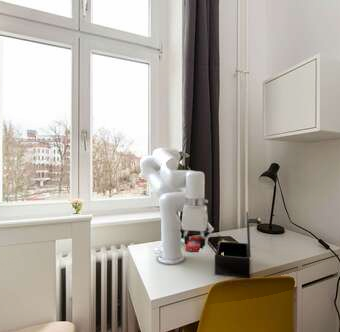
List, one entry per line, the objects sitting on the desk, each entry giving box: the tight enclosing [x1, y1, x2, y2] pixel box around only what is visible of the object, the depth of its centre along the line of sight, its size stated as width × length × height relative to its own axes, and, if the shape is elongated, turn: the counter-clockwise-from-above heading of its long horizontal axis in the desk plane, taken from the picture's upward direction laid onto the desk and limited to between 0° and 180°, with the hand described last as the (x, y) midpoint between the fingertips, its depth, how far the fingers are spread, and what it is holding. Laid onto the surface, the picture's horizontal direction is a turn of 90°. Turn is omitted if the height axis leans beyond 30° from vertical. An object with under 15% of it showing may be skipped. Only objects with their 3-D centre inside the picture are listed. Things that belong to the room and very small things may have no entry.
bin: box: [214, 241, 251, 279], centre depth 95 cm, size 14×18×8 cm
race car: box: [184, 234, 202, 253], centre depth 88 cm, size 13×5×4 cm, turn 162°
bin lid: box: [245, 211, 262, 258], centre depth 93 cm, size 14×18×6 cm
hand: (194, 246), depth 88 cm, fingers closed on race car, 5 cm apart
